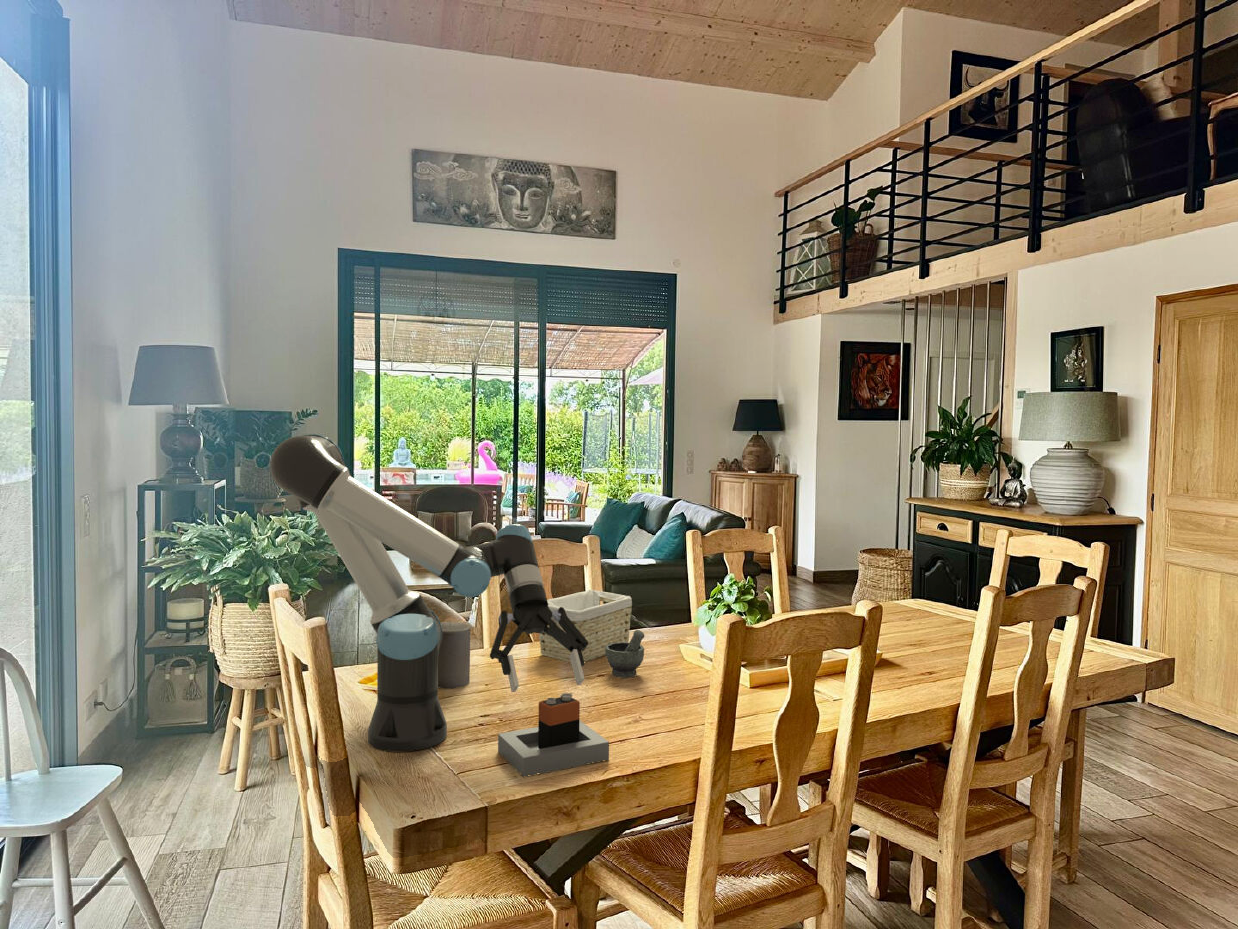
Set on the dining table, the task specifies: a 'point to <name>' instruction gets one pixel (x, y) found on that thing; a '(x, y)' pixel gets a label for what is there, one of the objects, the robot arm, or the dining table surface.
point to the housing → (551, 751)
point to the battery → (558, 721)
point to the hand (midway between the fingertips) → (548, 685)
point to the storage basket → (590, 622)
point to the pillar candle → (454, 655)
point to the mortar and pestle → (626, 656)
